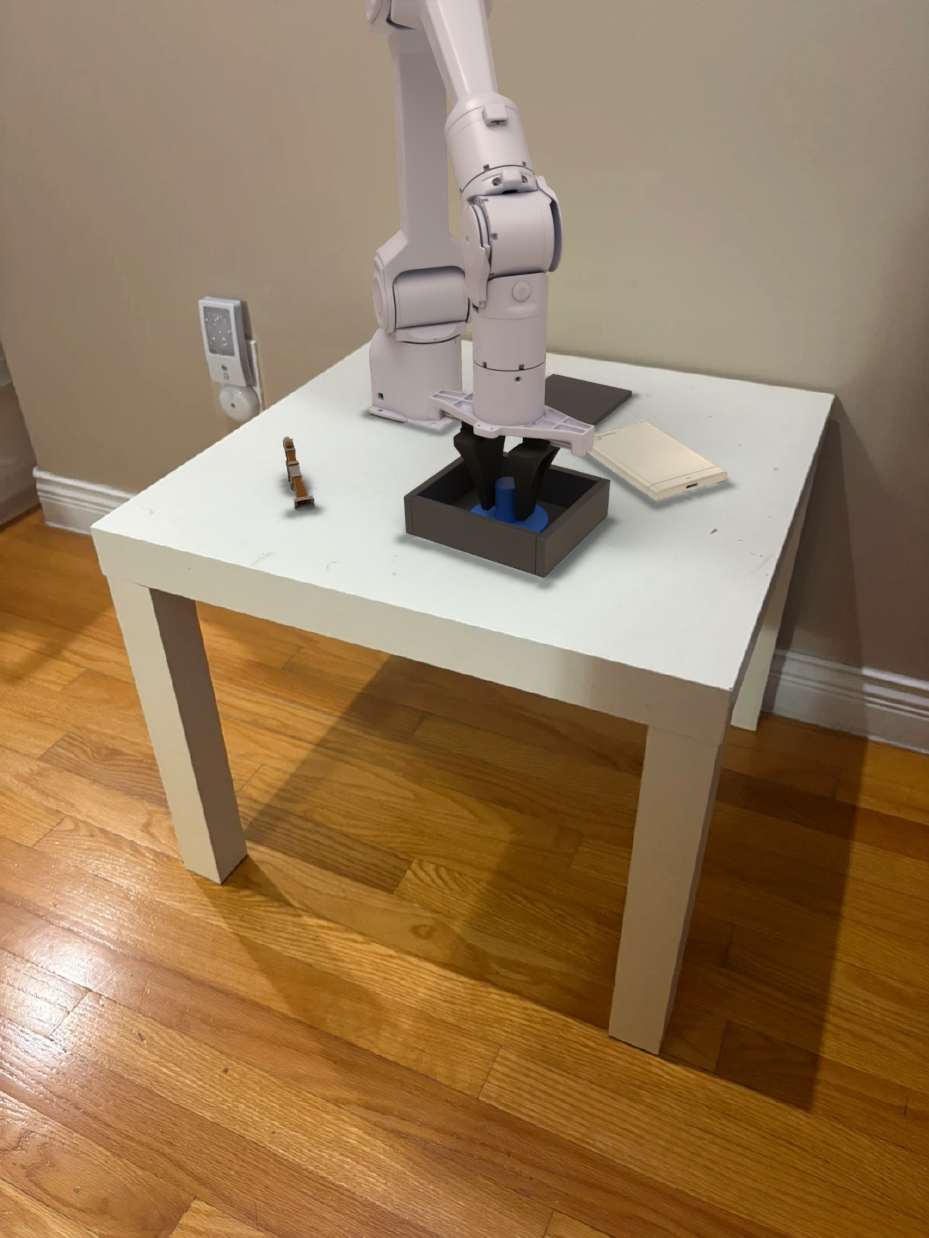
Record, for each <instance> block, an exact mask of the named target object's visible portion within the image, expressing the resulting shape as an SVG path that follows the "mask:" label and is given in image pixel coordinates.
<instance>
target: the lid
mask: <svg viewBox="0 0 929 1238" xmlns="http://www.w3.org/2000/svg"><path fill="white" fill-rule="evenodd" d="M470 512H473V513H477V514H480V515H483V516H487V517H490V518H493V519H496V520H500V521H503V522H506V523H510V524H513V525H516V526H519V527H523V528H526V529H529V530H533V531H536V532H539V533H542V532H543V531H544V530H545V529H547V527H548V515H547V513H546V511H545V510H544V509H543V508H542V507H540V506H539V505H537V504H536V506H535V511H534V513H533V514H532V515H530V516H529V517H528V518H527V519H526V520H525V521H519V520H516V516H515V485H514V478H513V477H503V478H500V479H498V480H497V481H496V482H495V506H494V507H492V508H491V509H490V510H489V511H486V510H483V509H482V507H481V504H479V505H477V506H476V507H474V508H473V509H472V510H471V511H470Z"/></svg>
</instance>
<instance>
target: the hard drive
mask: <svg viewBox="0 0 929 1238" xmlns="http://www.w3.org/2000/svg"><path fill="white" fill-rule="evenodd" d="M587 454H588V455H589V456H592V458H594V459H595V460H597V461H598V462H599V463H601V464H602V465H604V466H605V467H607V468H608V469H610V470H611V471H612V472H614V473H615V474H617V475H618V476H619V477H621V478H622V479H624V480H625V481H627V483H629V484H631V485H632V486H634V487H635V488H636V489H638V490H640V491H641V492H643V493H644V494H645V495H646V496H648V497H649V498H651V499H652V500H654V501H659V500H662V499H666V498H669V497H672V496H673V497H674V496H677V495H679V494H684V493H686V492H689V491H694V490H696V489H700V488H703V487H707V486H710V485H713V484H716V483H719V482H723V481H727V478H728V471H726V470H725V469H723V468H721V467H720V466H718V465H717V464H715V463H714V462H712V461H710V460H709V459H707V458H706V457H704V456H703V455H701V454H699V452H696V451H694V450H692V449H691V447H688V446H687V445H685V444H683V443H681V442H680V441H678V440H676V439H675V438H673V437H672V436H670V435H669V434H667V433H666V432H664V431H662V430H661V429H659V428H657V427H656V426H654V425H652V424H651V423H649V422H648V421H641V422H637V423H634V424H631V425H626V426H623V427H619V428H616V429H612V430H608V431H603V432H600V433H597V434H594V447H593V448H592V449H591V450H590V451H589V452H588V453H587Z"/></svg>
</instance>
